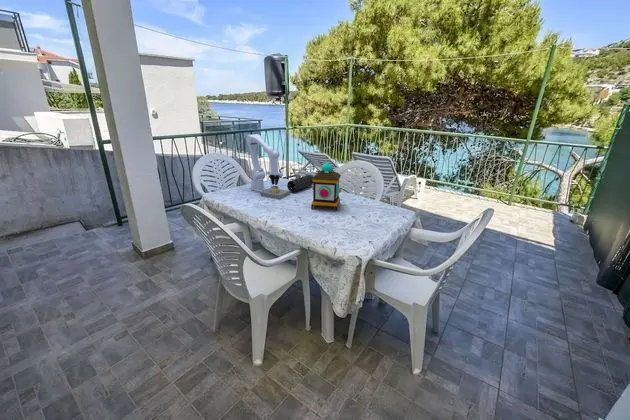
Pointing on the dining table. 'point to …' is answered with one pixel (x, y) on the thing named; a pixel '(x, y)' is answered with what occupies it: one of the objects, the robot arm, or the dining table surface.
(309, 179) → the muzzle brake
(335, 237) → the dining table surface
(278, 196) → the socket plate
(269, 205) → the dining table surface
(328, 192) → the decorative lantern
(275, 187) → the plug
